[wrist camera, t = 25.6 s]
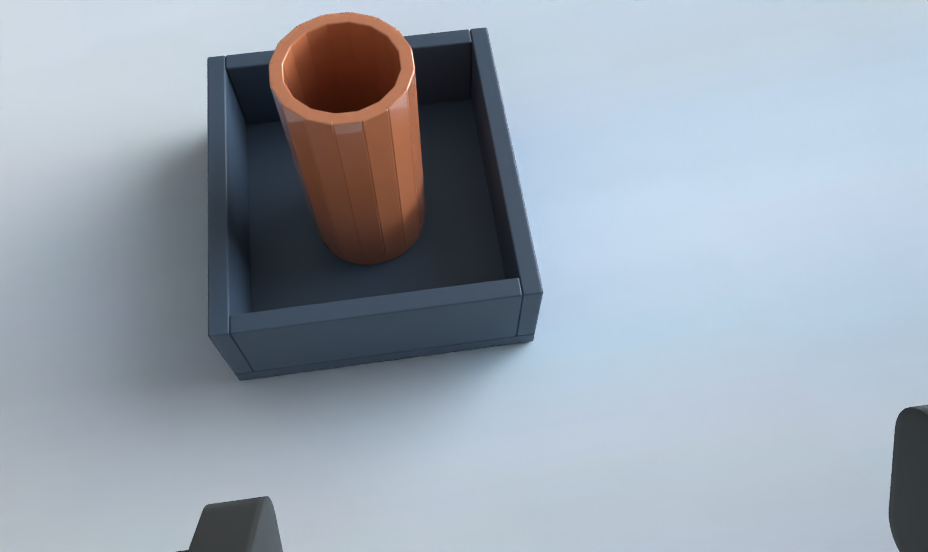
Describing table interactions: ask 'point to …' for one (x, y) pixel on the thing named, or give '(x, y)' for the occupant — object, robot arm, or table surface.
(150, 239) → the table surface
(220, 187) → the bin
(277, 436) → the table surface
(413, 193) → the cup
